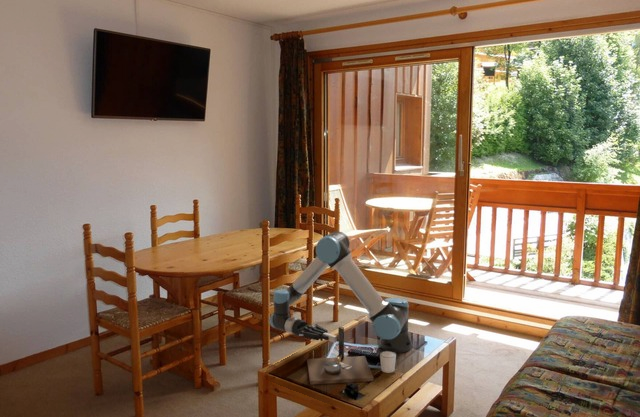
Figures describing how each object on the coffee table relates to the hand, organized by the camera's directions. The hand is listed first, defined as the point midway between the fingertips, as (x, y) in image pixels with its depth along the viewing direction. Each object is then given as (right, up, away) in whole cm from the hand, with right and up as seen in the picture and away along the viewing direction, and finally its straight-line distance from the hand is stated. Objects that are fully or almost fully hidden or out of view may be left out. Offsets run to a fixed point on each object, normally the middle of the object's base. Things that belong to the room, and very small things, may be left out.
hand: (335, 339), depth 217 cm
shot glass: (+22, -11, -8) cm, 26 cm away
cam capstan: (0, -9, -8) cm, 12 cm away
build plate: (+6, -15, -27) cm, 31 cm away
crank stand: (+1, -11, -9) cm, 14 cm away
